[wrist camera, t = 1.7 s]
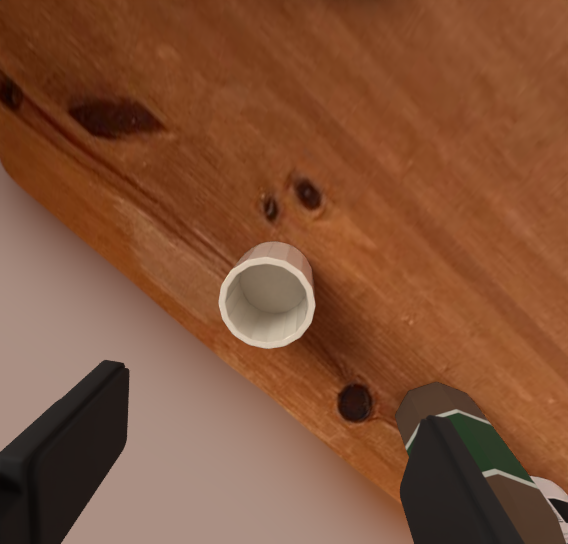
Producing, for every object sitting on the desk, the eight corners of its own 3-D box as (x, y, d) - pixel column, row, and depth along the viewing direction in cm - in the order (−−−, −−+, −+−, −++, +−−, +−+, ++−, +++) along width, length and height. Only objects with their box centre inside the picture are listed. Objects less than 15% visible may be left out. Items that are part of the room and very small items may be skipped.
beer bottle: (428, 460, 35) (655, 988, 12) (376, 412, 34) (518, 894, 11) (491, 415, 34) (896, 936, 10) (438, 363, 33) (759, 817, 9)
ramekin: (230, 306, 32) (212, 337, 26) (243, 233, 31) (227, 248, 24) (303, 322, 32) (302, 357, 26) (321, 250, 30) (324, 269, 24)
